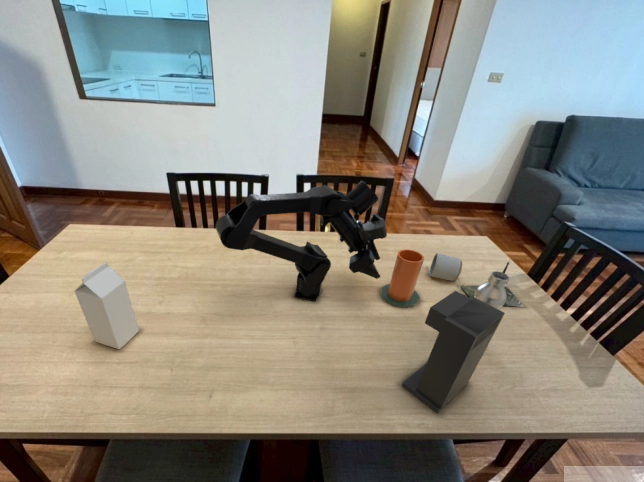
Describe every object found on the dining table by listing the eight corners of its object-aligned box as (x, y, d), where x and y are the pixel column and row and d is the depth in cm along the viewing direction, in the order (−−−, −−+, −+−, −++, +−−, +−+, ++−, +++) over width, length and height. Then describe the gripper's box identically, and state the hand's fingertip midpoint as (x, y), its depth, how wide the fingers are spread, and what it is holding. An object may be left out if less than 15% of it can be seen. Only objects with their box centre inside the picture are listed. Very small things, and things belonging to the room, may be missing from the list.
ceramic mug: (456, 286, 110) (464, 264, 105) (429, 280, 111) (436, 259, 107) (453, 269, 118) (461, 249, 114) (428, 264, 120) (435, 244, 115)
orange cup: (398, 303, 100) (410, 264, 92) (383, 290, 105) (392, 252, 97) (416, 297, 103) (429, 259, 95) (400, 285, 107) (411, 247, 100)
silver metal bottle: (470, 354, 86) (504, 287, 74) (449, 336, 91) (478, 271, 79) (488, 346, 89) (523, 280, 77) (466, 329, 93) (496, 265, 81)
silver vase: (505, 286, 111) (524, 249, 103) (524, 307, 103) (546, 268, 95) (460, 286, 110) (475, 249, 102) (475, 307, 102) (493, 267, 94)
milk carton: (139, 330, 87) (120, 265, 76) (119, 350, 82) (95, 282, 70) (115, 323, 89) (93, 258, 77) (94, 342, 83) (67, 274, 72)
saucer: (378, 303, 101) (379, 300, 101) (382, 282, 110) (382, 280, 109) (418, 311, 99) (419, 309, 98) (418, 289, 107) (419, 287, 107)
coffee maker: (399, 384, 78) (425, 310, 65) (430, 359, 84) (459, 287, 71) (437, 413, 72) (474, 338, 59) (467, 385, 78) (506, 311, 66)
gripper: (372, 228, 82) (407, 274, 88) (373, 195, 96) (403, 237, 102) (333, 251, 87) (368, 293, 94) (340, 217, 102) (369, 255, 108)
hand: (378, 268), depth 99 cm, fingers open, 9 cm apart
